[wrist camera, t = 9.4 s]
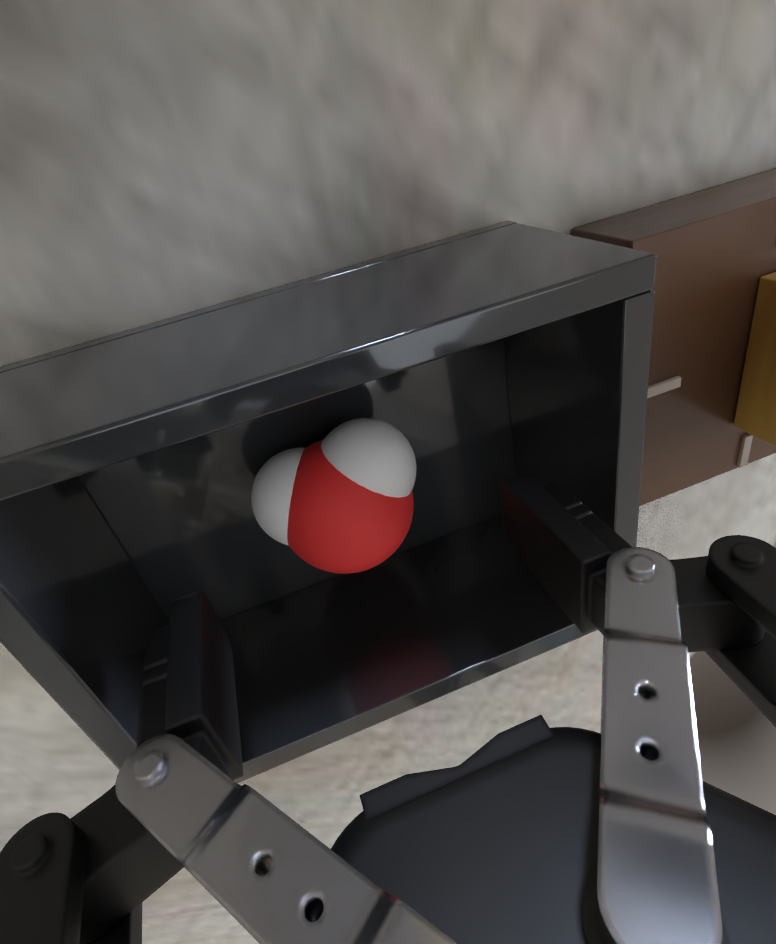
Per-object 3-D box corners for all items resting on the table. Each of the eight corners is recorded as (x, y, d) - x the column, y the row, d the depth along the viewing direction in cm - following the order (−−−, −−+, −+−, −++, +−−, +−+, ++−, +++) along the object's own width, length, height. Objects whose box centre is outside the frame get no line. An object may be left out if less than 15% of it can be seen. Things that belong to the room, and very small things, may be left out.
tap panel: (570, 228, 18) (636, 241, 15) (843, 147, 19) (945, 147, 17) (573, 476, 23) (621, 517, 21) (785, 396, 25) (854, 425, 22)
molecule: (357, 532, 20) (387, 614, 17) (232, 495, 18) (236, 582, 15) (425, 420, 18) (474, 486, 15) (295, 364, 16) (317, 427, 13)
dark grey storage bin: (-15, 371, 15) (-135, 501, 9) (508, 219, 17) (659, 252, 11) (167, 644, 21) (160, 816, 16) (528, 507, 23) (631, 616, 18)
